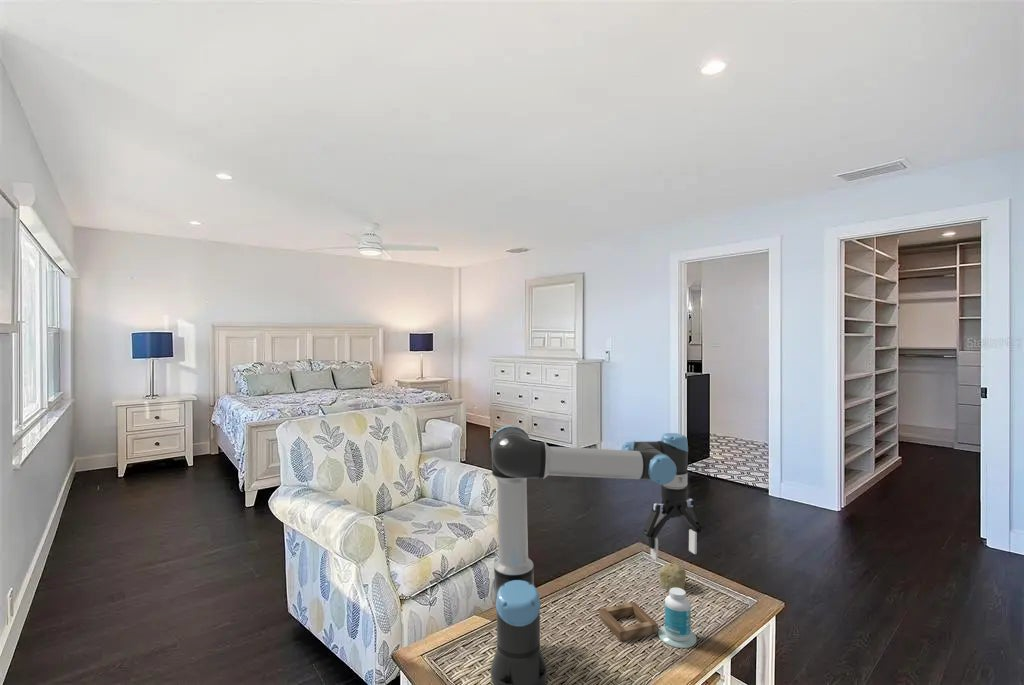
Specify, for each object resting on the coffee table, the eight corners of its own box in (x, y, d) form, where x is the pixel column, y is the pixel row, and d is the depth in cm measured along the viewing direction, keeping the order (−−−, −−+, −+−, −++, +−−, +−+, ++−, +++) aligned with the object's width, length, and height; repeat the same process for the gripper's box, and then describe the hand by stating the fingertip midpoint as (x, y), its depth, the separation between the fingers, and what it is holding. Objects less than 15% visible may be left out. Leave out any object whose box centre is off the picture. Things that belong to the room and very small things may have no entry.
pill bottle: (692, 644, 148) (692, 599, 148) (666, 641, 150) (666, 596, 149) (688, 629, 155) (688, 586, 155) (663, 626, 157) (663, 583, 156)
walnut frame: (620, 641, 150) (620, 632, 150) (599, 617, 163) (599, 609, 163) (657, 632, 154) (657, 623, 154) (634, 610, 167) (634, 602, 167)
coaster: (672, 651, 145) (672, 650, 145) (651, 629, 156) (651, 628, 156) (704, 643, 149) (704, 642, 149) (681, 623, 159) (681, 621, 159)
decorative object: (657, 595, 182) (660, 581, 176) (657, 569, 190) (660, 555, 184) (684, 601, 180) (688, 586, 174) (683, 574, 188) (687, 560, 182)
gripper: (645, 493, 144) (644, 566, 144) (717, 485, 151) (716, 554, 152) (631, 485, 151) (630, 555, 152) (700, 478, 159) (700, 544, 159)
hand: (673, 555), depth 152 cm, fingers open, 13 cm apart
